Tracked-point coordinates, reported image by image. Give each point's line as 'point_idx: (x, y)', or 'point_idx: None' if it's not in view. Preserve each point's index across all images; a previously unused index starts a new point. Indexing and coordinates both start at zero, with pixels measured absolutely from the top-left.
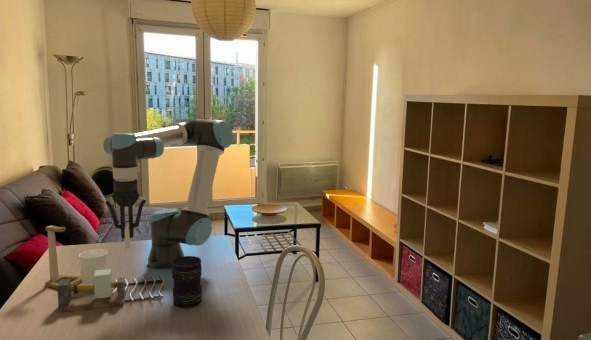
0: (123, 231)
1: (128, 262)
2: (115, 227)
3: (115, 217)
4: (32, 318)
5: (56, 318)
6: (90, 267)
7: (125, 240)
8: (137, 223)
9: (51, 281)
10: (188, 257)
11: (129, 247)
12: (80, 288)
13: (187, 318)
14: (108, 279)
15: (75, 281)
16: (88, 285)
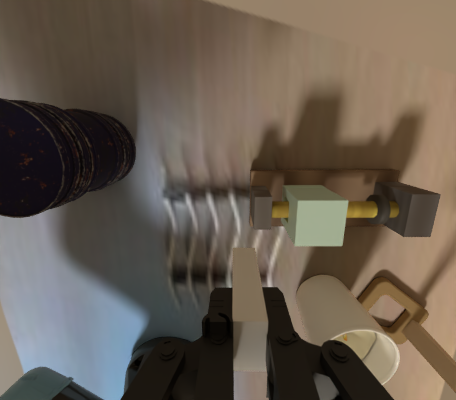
0: (274, 321)
1: (255, 384)
2: (347, 346)
3: None
4: (443, 153)
5: (393, 140)
6: (350, 307)
7: (255, 270)
8: (153, 368)
9: (416, 316)
10: (8, 205)
11: (234, 250)
12: (366, 201)
13: (92, 57)
14: (298, 196)
15: (365, 305)
16: (348, 207)
